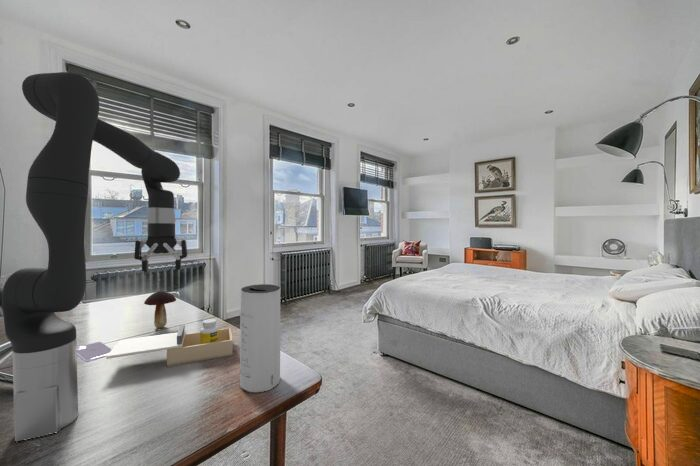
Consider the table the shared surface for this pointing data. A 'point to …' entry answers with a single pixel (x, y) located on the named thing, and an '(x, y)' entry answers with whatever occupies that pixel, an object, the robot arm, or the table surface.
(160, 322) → the decorative mushroom
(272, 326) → the speaker
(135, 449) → the table surface
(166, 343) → the mailer lid
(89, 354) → the mobile phone
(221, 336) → the light wooden open box
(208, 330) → the supplement bottle
